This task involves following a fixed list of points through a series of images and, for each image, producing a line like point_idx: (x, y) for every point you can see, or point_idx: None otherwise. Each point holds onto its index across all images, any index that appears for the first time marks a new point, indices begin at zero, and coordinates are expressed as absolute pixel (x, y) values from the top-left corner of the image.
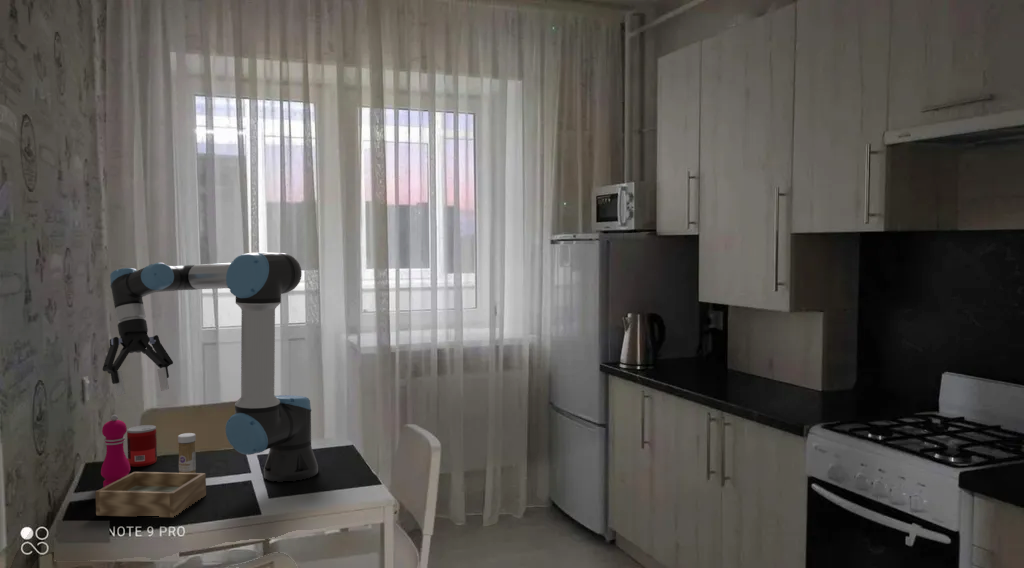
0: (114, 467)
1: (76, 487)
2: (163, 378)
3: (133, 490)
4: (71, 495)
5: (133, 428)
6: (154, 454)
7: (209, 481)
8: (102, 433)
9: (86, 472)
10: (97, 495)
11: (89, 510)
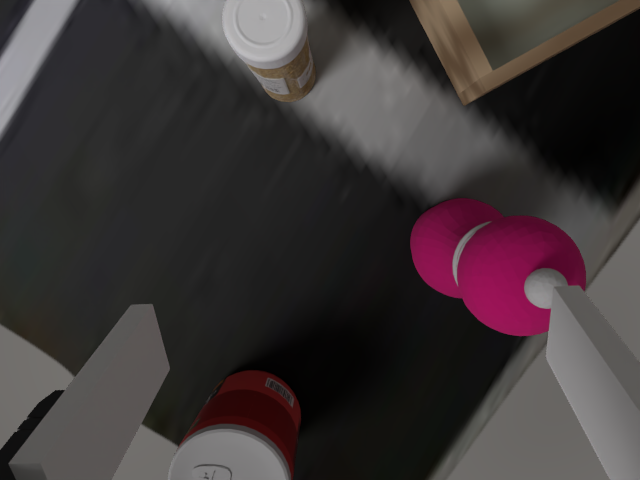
0: (495, 210)
1: (527, 338)
2: (113, 387)
3: (512, 37)
4: None
5: None
6: (225, 384)
7: None
8: None
9: (420, 470)
10: None
11: (633, 71)
